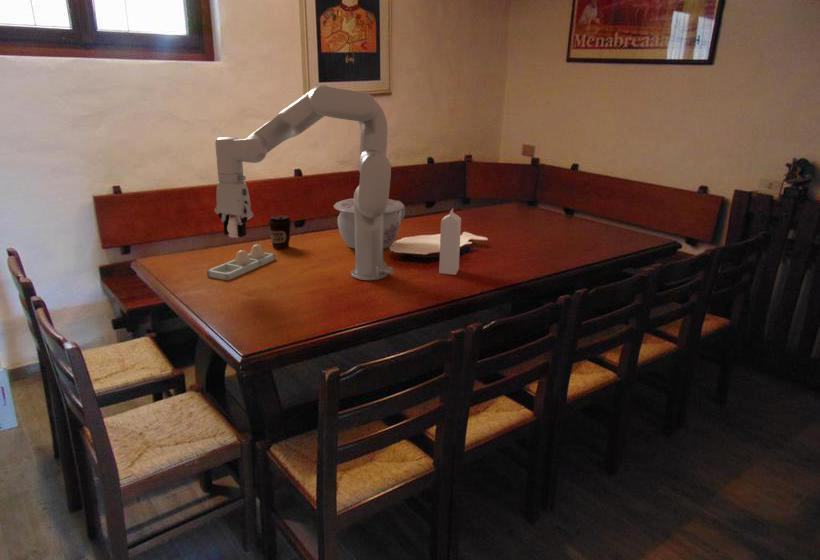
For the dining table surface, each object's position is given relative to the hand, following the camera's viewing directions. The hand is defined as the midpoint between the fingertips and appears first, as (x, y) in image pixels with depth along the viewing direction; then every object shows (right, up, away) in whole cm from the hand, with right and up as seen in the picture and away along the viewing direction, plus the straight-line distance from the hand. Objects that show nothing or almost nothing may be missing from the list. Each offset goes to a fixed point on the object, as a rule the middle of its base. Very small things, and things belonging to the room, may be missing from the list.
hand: (235, 234), depth 188 cm
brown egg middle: (-2, -10, +15) cm, 19 cm away
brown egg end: (+1, -8, +22) cm, 24 cm away
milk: (+70, -12, +18) cm, 73 cm away
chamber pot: (+40, -1, +45) cm, 61 cm away
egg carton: (-6, -10, +17) cm, 21 cm away
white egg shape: (0, 0, 0) cm, 0 cm away
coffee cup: (+6, -3, +39) cm, 40 cm away
